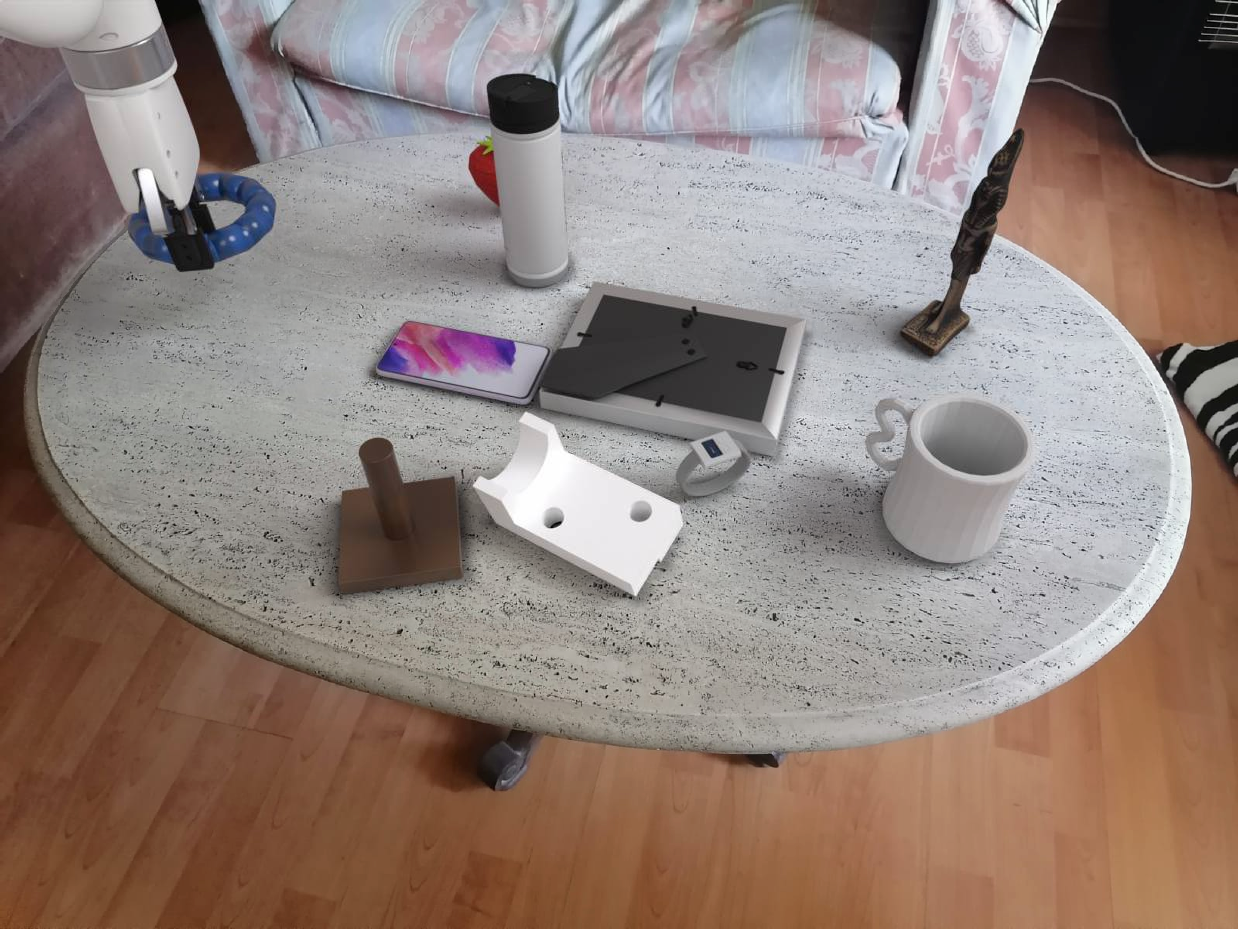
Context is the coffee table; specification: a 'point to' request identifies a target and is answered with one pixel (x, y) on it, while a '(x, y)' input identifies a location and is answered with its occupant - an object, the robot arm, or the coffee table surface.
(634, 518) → the bracket
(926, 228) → the coffee table surface
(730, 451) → the wristwatch
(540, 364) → the smartphone
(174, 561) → the coffee table surface
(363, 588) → the peg stand
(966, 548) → the mug
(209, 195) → the blue spotted ring
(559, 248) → the travel mug
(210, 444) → the coffee table surface
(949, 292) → the statue
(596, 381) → the picture frame
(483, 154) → the strawberry
